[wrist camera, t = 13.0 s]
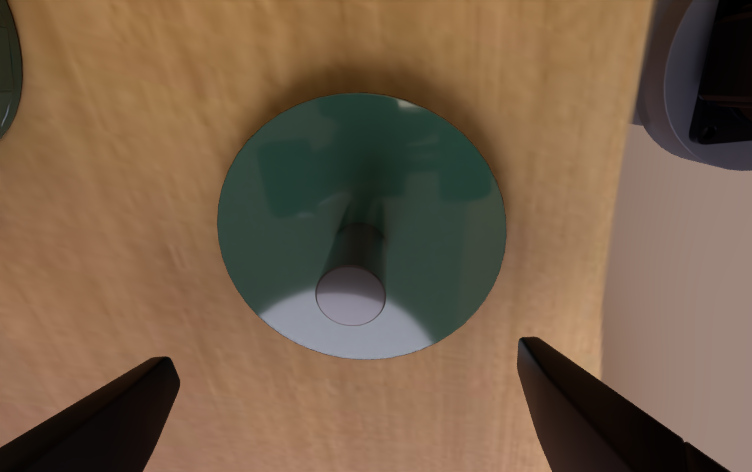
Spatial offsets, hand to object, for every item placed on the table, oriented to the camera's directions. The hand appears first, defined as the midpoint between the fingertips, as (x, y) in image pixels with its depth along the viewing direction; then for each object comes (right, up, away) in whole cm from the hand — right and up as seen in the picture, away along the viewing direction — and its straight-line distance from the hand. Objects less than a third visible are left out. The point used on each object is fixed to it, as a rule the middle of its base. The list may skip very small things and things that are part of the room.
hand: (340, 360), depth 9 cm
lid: (0, +3, +7) cm, 8 cm away
